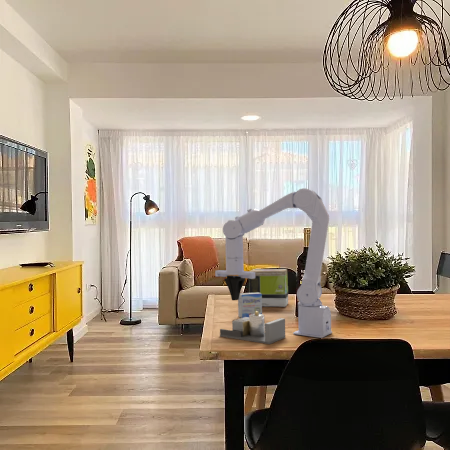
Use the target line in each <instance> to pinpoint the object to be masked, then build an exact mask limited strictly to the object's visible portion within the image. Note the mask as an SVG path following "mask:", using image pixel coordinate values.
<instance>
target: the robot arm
mask: <svg viewBox="0 0 450 450" xmlns="http://www.w3.org/2000/svg"><path fill="white" fill-rule="evenodd" d="M286 209H298V210H299V209H300V211H302V212H304V213H305V214H306V215H307V217H309V219H310V220H311V221H312V223H311V229H310V237H309V242H308V243H309V244H308V249H307V255H306V260H305V261H306V262H305V267H304V272H303V277H302V279H301V284H300V286H299V287H298V288H297V291H296V297H297V300H298V302H297V310H298V313H297V314H298V315H297V316H298V317H297V319H298V324H297V325H298V326H297V327H298V330H295V331H294V332H292V334H293V335H297V336H306V337H312V338H320V339H323V338H325V337H327V336H329V335H331V334H332V333H333V331H332V313H331V308H330V307H329V306H327V305H324V304H323V301H321V299H320V298H321V297H322V295H323V288H322V285H321V280H322V277H321V276H322V275H321V273H322V268H323V260H324V255H325V249H326V248H325V247H326V242H327V236H328V228H329V224H330V222H329V221H330V215H329V213H328V210H327V209H326V207H325V204H324V202H323V199H322V198H321V196H319V194H318V193H316V192H315V191H314V190H311V189H308V188H306V187H304V188H300V189H298V190H296V191H292V192H290V193H288V194H286V195H284V196H281V198H278V199H277V200H275V201H274V202H272V203H270V204H269V205H267V206H265V207H263V208H261V209H258V208H253V209H252V208H249V209H247V212H246V213H243V214H242V215H240V216H239V215H238V216H235V217H234V220H231V219H229V220H227V222H225V224H224V225H223V226H222V233H223V235H224V236H225V270H224V269H223V270H221V269H220V270H219V269H218V270H214V271H215V273H214V274H215V277H216V278H217V277H222V278H224V282H225V284H226V287H227V288H228V290H229V294H230V298H231V301H238V300H239V295H240V293H241V291H242V289H243V286H244V283H245V282H246V279H248V280H249V279H254V278H255V272H249V271H247V270H246V271H245V270H244V268H245V267H244V241H243V240H244V236H245V234H248V233H249V232H252V231H253V230H255V229H257V228H259V227H261V226H263V225H264V223H265V220H266V219H268V218H270V217H272V216H274V215H276V214H279V213H281V212H283V211H285V210H286Z"/></svg>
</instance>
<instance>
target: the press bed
mask: <svg viewBox="0 0 450 450" xmlns="http://www.w3.org/2000/svg"><path fill="white" fill-rule="evenodd" d="M219 337H223V338H228V339H235V340H241V341H248V342H254V343H260V344H267V345H272V344H274V343H276V342H279V341H281V340H283V339H286V318H282V317H279V318H277V319H274V320H272V321H269V322H266V323H265V336H263V337H251V336H250V334H248V335H245V336H241V332H239V331H232V330H230V329H225V328H220V329H219Z"/></svg>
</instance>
